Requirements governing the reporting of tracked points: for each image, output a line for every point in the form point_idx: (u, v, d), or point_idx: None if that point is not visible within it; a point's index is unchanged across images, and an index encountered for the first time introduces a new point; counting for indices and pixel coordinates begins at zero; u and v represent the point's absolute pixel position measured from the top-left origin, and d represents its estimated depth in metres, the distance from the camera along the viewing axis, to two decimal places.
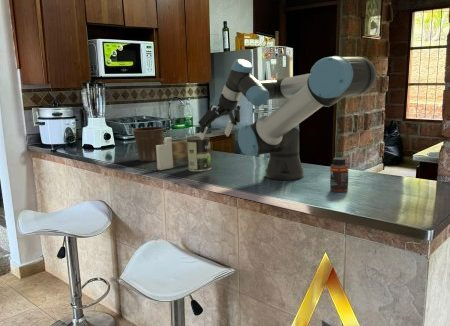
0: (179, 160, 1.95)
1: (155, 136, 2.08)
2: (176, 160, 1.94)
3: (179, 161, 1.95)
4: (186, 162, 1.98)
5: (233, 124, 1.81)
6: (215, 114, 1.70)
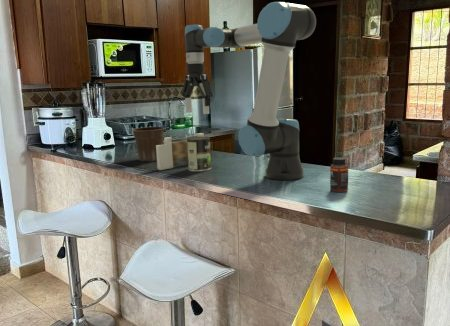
0: (179, 160, 1.95)
1: (155, 136, 2.08)
2: (176, 160, 1.94)
3: (179, 161, 1.95)
4: (186, 162, 1.98)
5: None
6: (202, 84, 1.78)
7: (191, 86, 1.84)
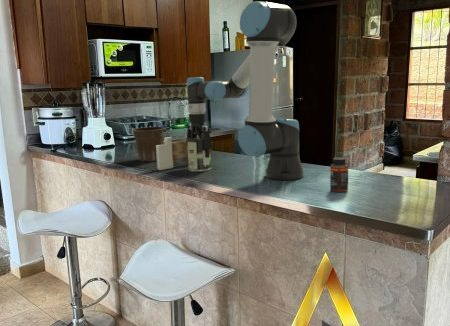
0: (179, 160, 1.95)
1: (155, 136, 2.08)
2: (176, 160, 1.94)
3: (179, 161, 1.95)
4: (186, 162, 1.98)
5: None
6: (203, 135, 1.83)
7: (194, 135, 1.87)
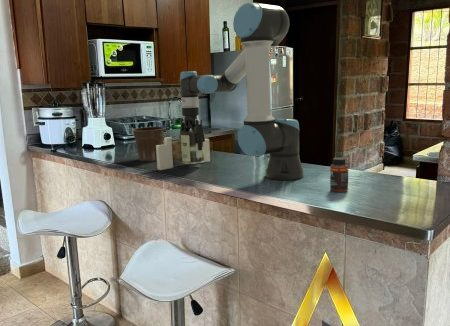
0: (178, 160, 1.96)
1: (155, 136, 2.08)
2: (175, 160, 1.95)
3: (178, 161, 1.96)
4: None
5: None
6: (196, 128, 1.86)
7: (187, 128, 1.91)
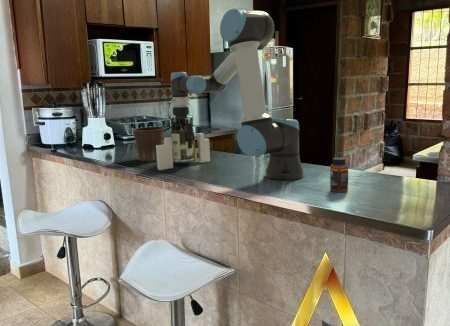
0: None
1: (155, 136, 2.08)
2: None
3: None
4: None
5: None
6: (186, 127, 1.93)
7: (178, 127, 1.97)
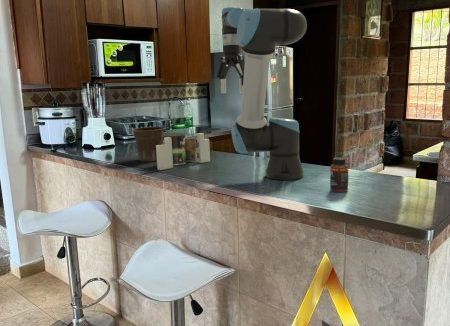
0: None
1: (155, 136, 2.08)
2: None
3: None
4: None
5: None
6: (238, 64, 1.85)
7: (227, 67, 1.91)
